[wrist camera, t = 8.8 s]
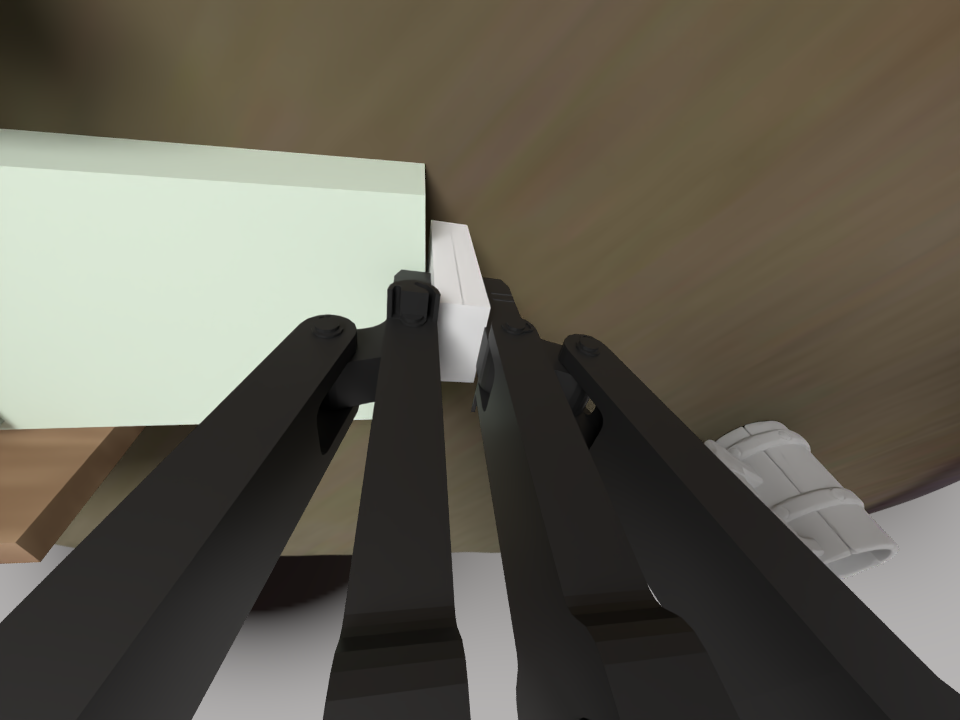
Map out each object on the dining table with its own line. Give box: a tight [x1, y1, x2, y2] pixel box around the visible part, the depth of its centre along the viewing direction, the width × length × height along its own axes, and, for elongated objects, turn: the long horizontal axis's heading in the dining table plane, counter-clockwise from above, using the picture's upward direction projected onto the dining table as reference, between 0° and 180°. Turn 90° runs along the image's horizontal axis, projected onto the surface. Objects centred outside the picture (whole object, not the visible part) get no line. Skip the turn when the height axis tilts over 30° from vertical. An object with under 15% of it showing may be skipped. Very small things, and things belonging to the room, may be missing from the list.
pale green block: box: [0, 129, 425, 430], centre depth 14 cm, size 10×20×6 cm, turn 85°
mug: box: [704, 421, 899, 579], centre depth 26 cm, size 8×12×12 cm, turn 62°
